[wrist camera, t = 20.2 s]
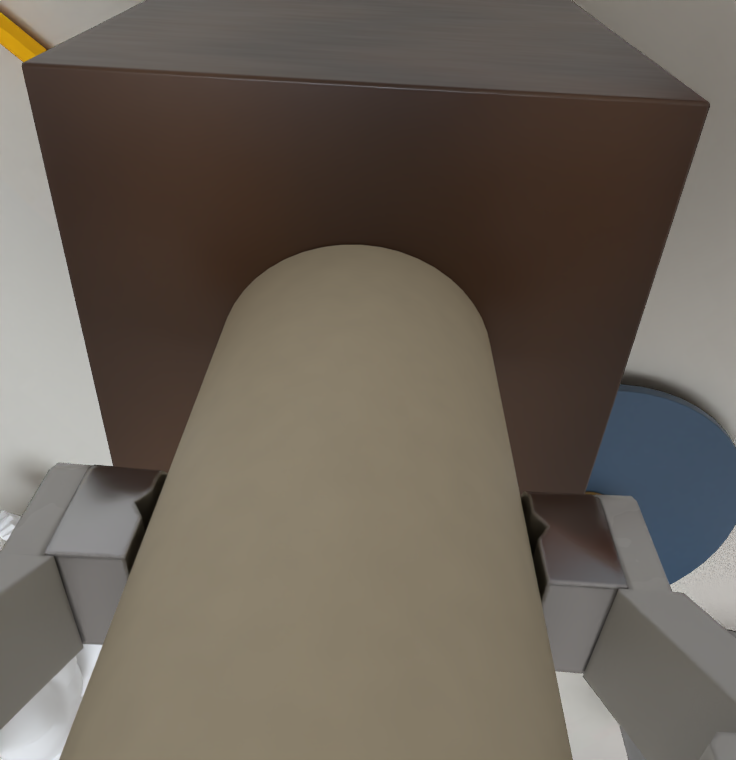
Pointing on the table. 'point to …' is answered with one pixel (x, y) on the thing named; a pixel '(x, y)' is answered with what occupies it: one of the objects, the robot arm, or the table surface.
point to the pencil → (18, 40)
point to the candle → (335, 543)
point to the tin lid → (670, 474)
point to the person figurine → (46, 700)
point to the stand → (364, 189)
